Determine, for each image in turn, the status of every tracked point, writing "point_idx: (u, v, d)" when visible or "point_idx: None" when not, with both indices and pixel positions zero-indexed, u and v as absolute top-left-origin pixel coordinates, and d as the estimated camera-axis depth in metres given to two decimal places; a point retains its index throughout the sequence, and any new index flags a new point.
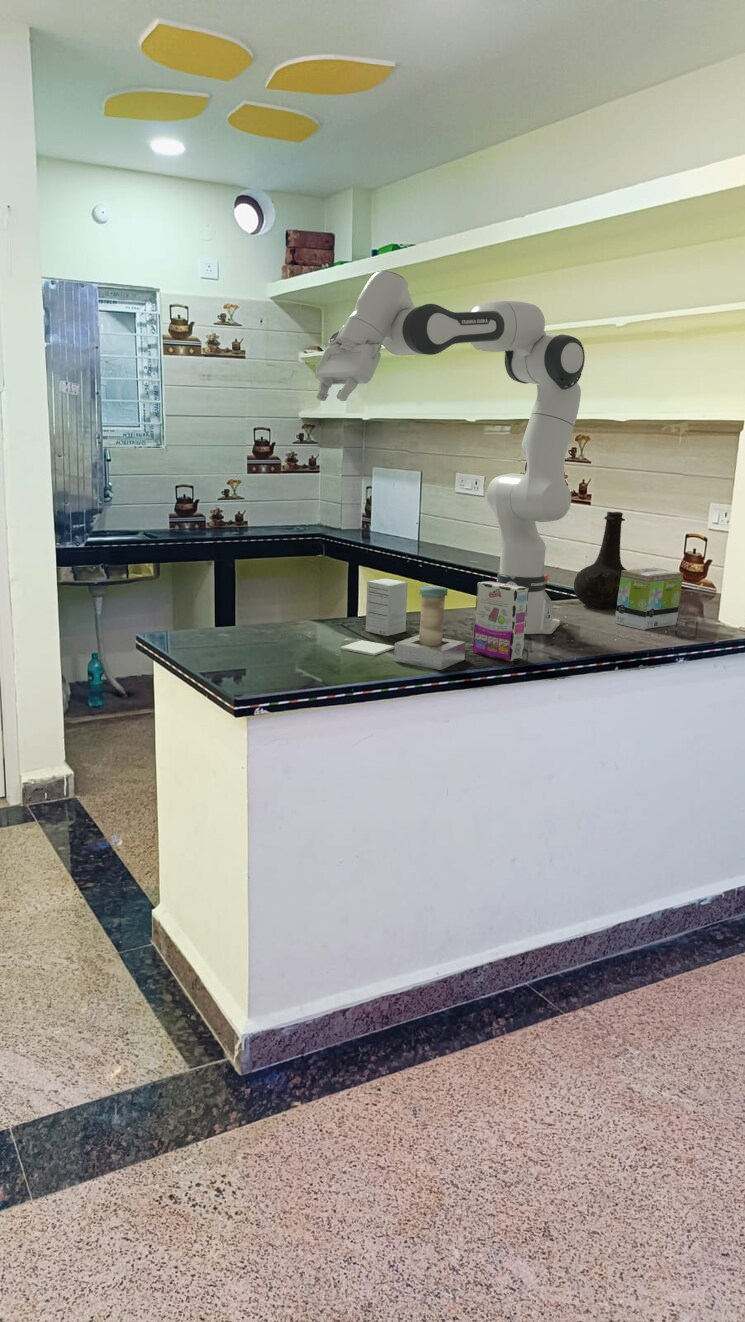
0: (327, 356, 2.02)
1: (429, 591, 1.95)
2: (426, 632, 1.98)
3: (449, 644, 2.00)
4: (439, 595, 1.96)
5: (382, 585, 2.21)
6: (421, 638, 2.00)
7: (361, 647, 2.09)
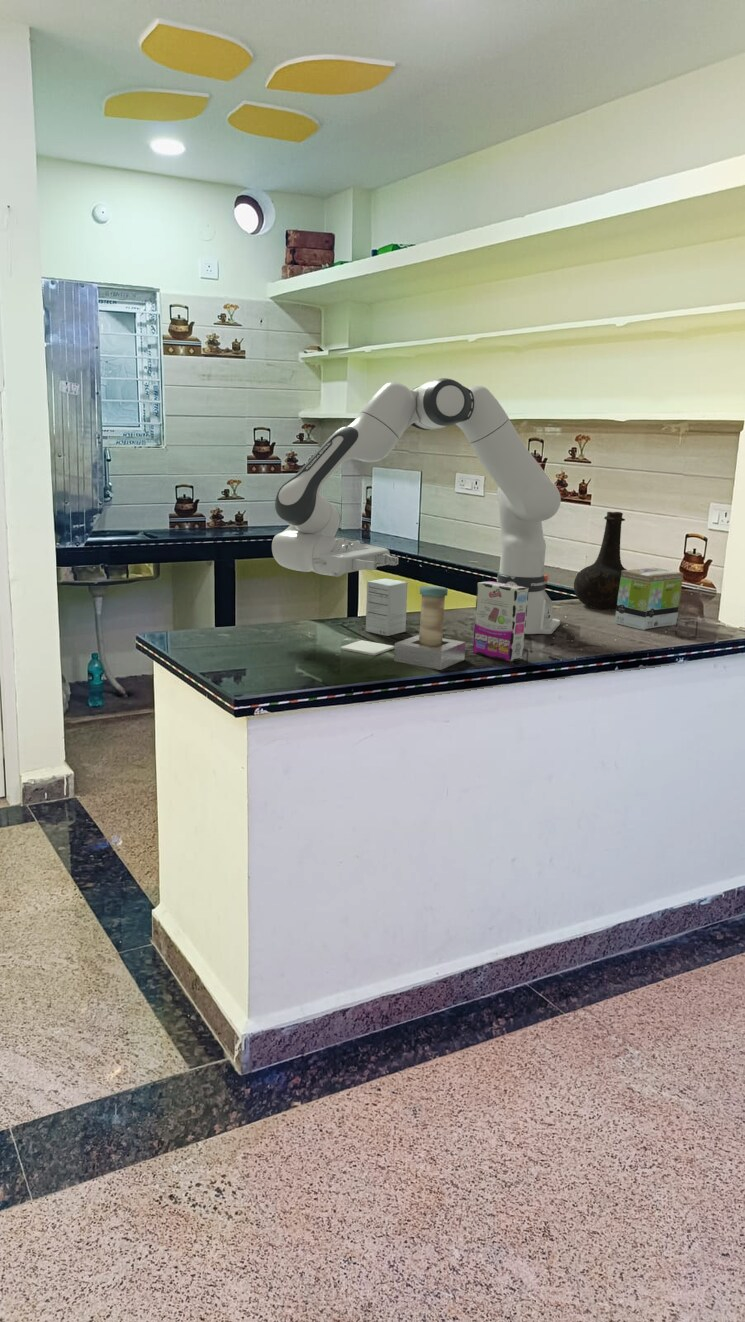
0: None
1: (429, 591, 1.95)
2: (426, 632, 1.98)
3: (449, 644, 2.00)
4: (439, 595, 1.96)
5: (382, 585, 2.21)
6: (421, 638, 2.00)
7: (361, 647, 2.09)
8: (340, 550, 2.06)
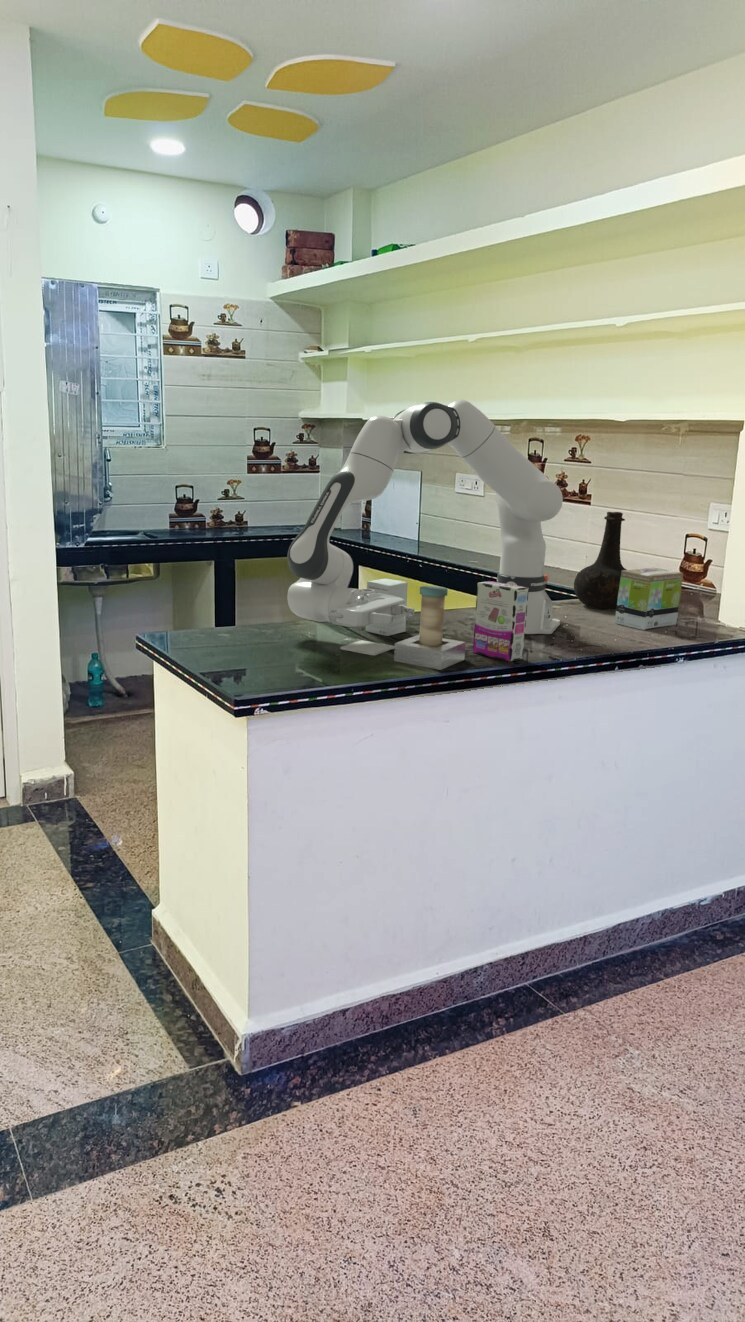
0: None
1: (429, 591, 1.95)
2: (426, 632, 1.98)
3: (449, 644, 2.00)
4: (439, 595, 1.96)
5: (382, 585, 2.21)
6: (421, 638, 2.00)
7: (361, 647, 2.09)
8: (356, 602, 2.06)
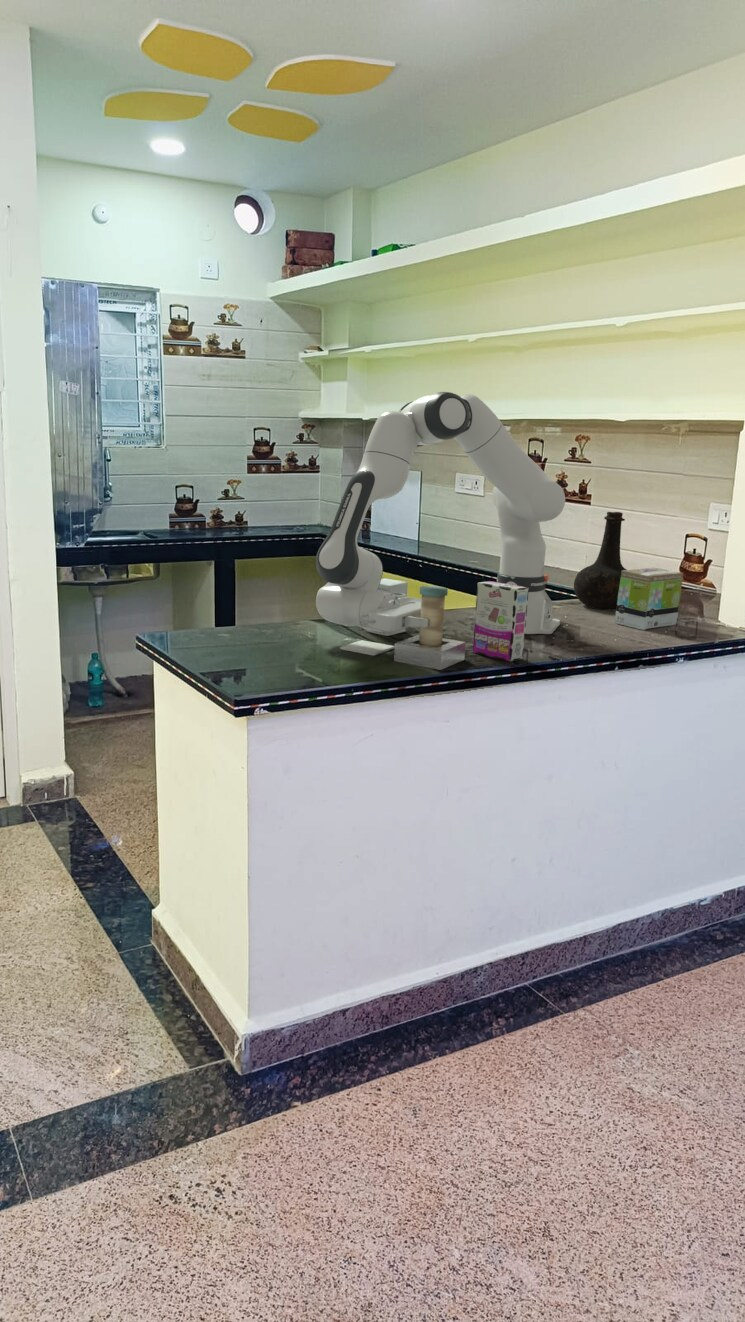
0: None
1: (429, 591, 1.95)
2: (426, 632, 1.98)
3: (449, 644, 2.00)
4: (439, 595, 1.96)
5: (382, 585, 2.21)
6: (421, 638, 2.00)
7: (361, 647, 2.09)
8: (388, 606, 2.02)
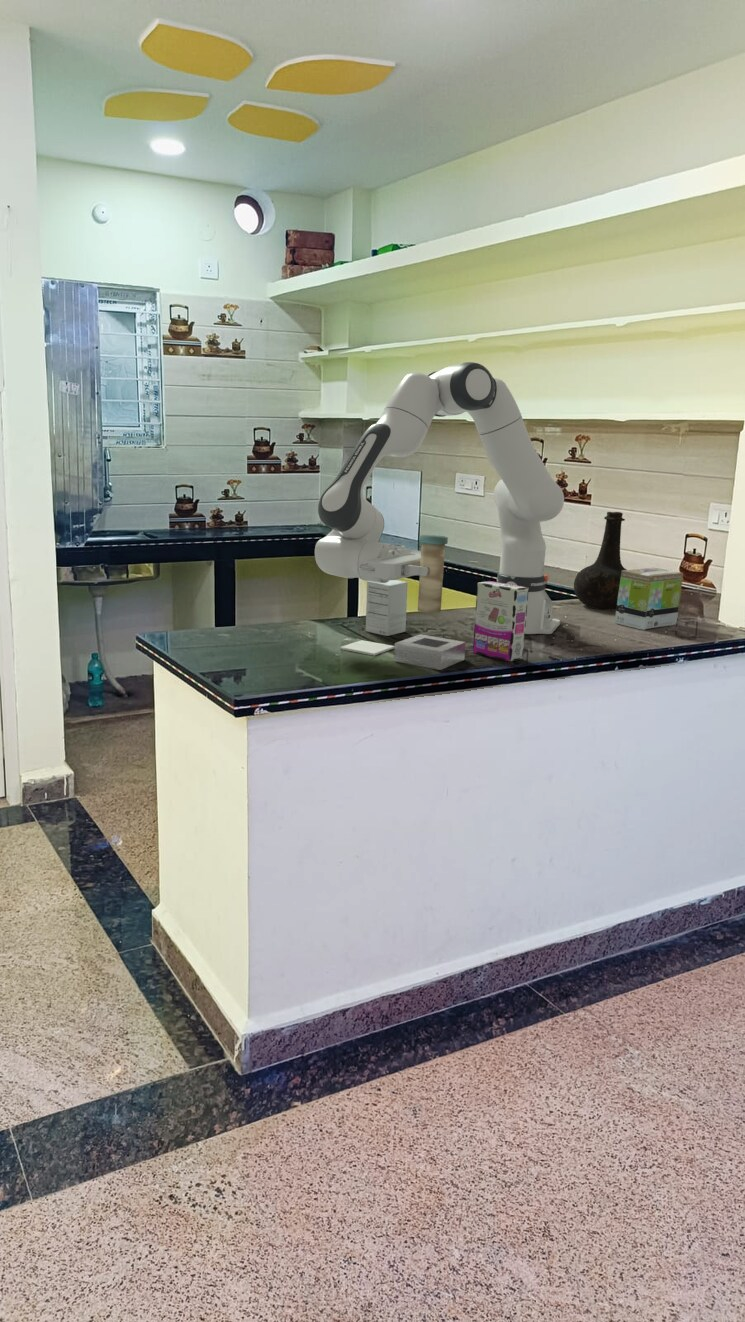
0: None
1: (429, 539, 1.93)
2: (425, 581, 1.96)
3: (449, 644, 2.00)
4: (439, 543, 1.93)
5: (382, 585, 2.21)
6: (421, 587, 1.97)
7: (361, 647, 2.09)
8: (387, 556, 2.00)
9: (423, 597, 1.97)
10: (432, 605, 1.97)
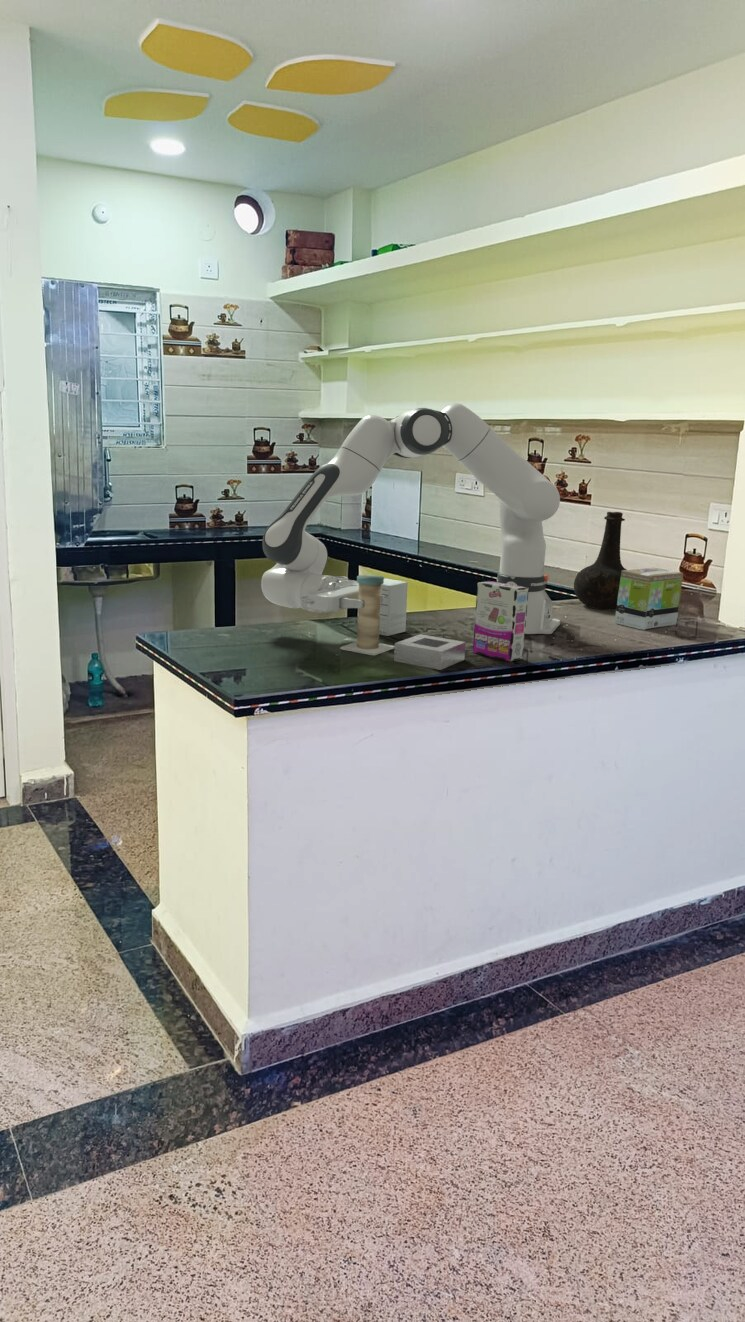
0: None
1: (365, 579, 2.03)
2: (363, 619, 2.06)
3: (449, 644, 2.00)
4: (375, 583, 2.03)
5: (382, 585, 2.21)
6: (359, 625, 2.07)
7: None
8: (328, 588, 2.10)
9: (360, 634, 2.07)
10: (370, 642, 2.07)
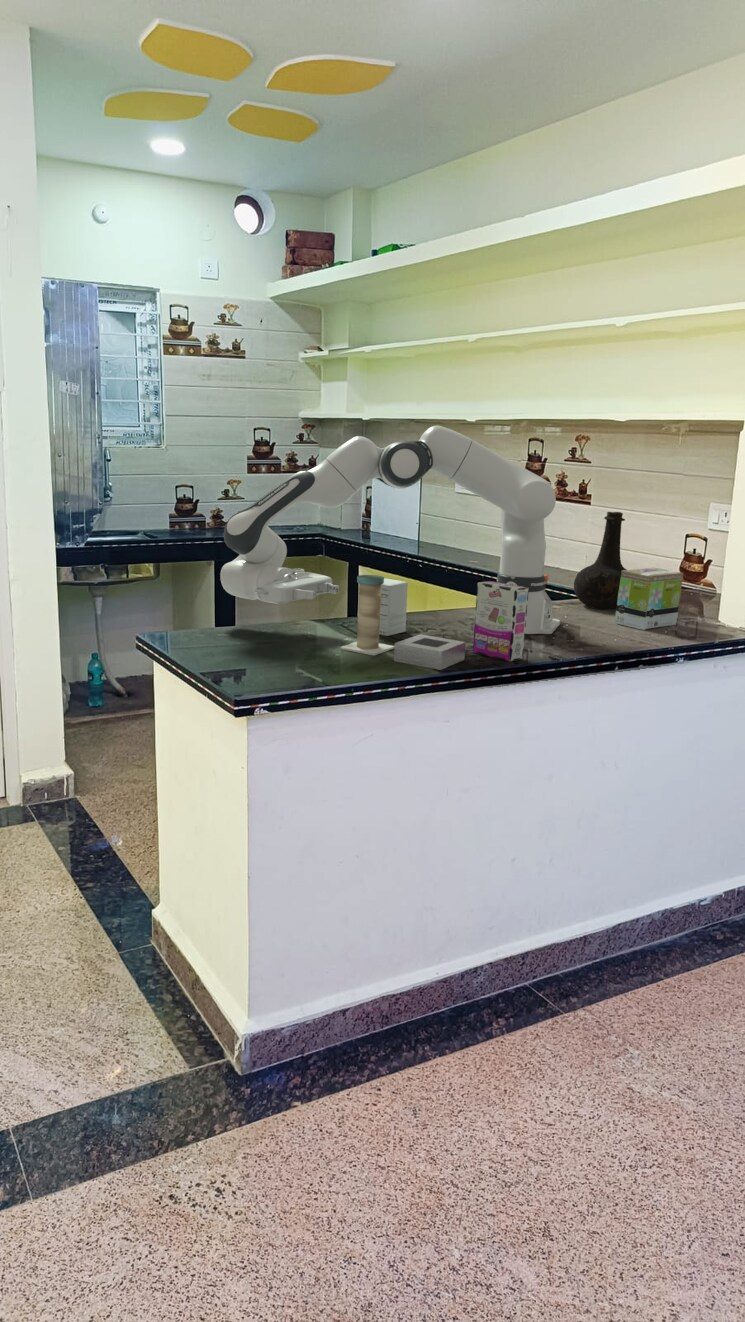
0: None
1: (365, 579, 2.03)
2: (363, 619, 2.06)
3: (449, 644, 2.00)
4: (375, 583, 2.03)
5: (382, 585, 2.21)
6: (359, 625, 2.07)
7: None
8: (283, 580, 2.16)
9: (360, 634, 2.07)
10: (370, 642, 2.07)
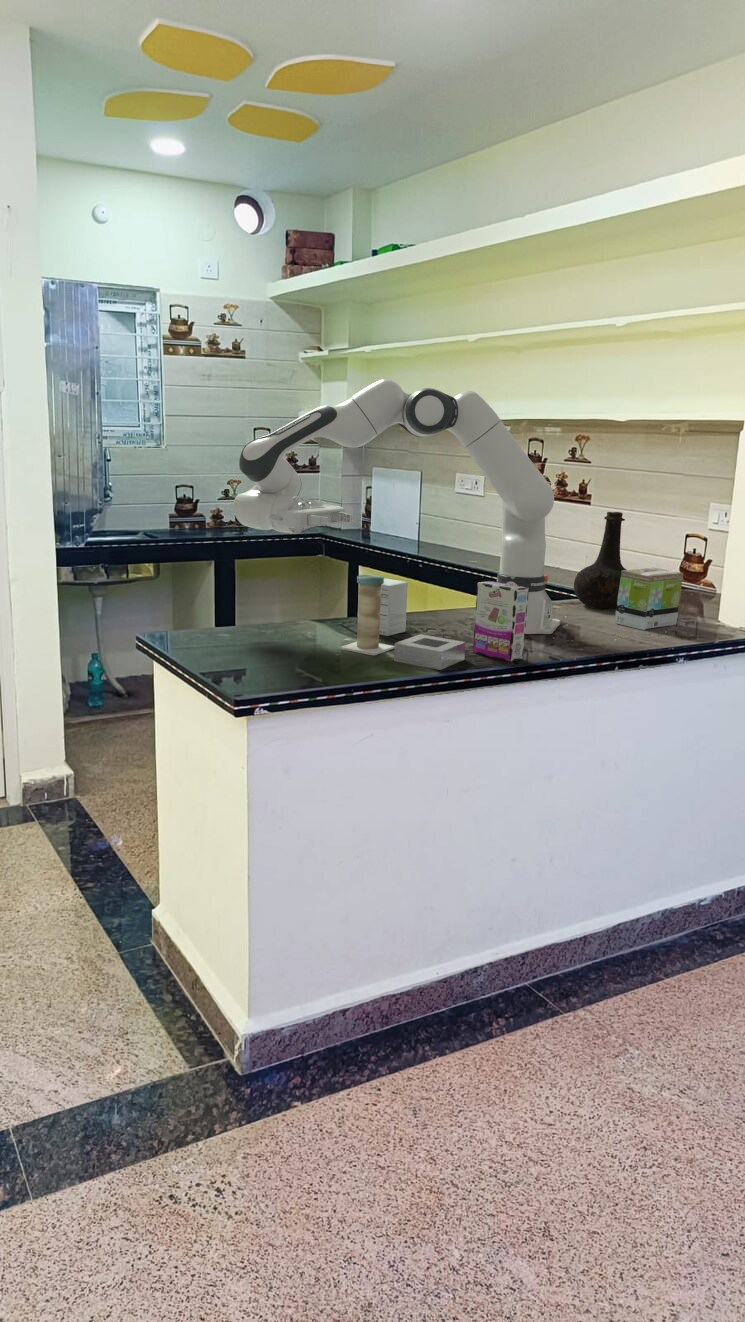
0: None
1: (365, 579, 2.03)
2: (363, 619, 2.06)
3: (449, 644, 2.00)
4: (375, 583, 2.03)
5: (382, 585, 2.21)
6: (359, 625, 2.07)
7: None
8: (297, 507, 2.15)
9: (360, 634, 2.07)
10: (370, 642, 2.07)
